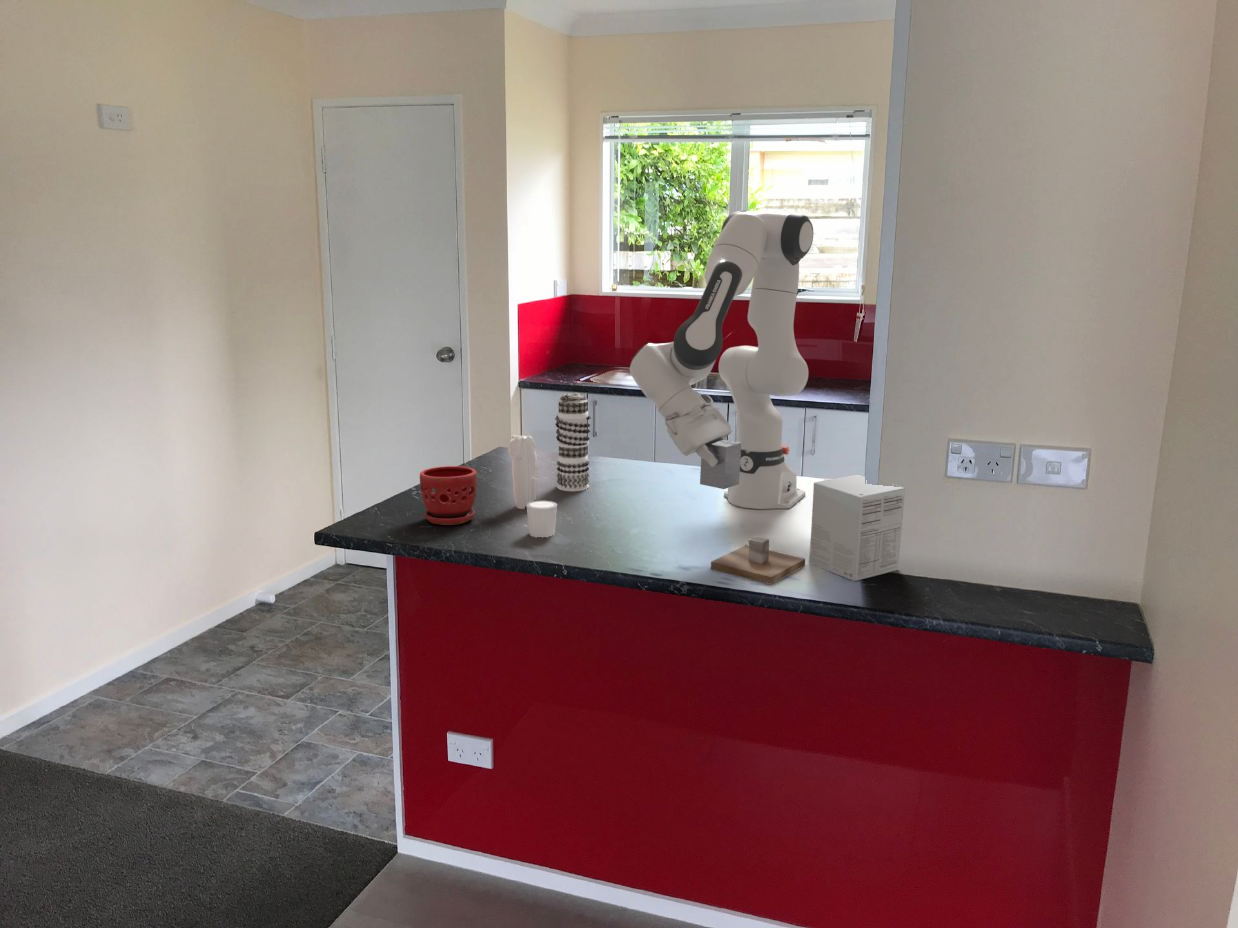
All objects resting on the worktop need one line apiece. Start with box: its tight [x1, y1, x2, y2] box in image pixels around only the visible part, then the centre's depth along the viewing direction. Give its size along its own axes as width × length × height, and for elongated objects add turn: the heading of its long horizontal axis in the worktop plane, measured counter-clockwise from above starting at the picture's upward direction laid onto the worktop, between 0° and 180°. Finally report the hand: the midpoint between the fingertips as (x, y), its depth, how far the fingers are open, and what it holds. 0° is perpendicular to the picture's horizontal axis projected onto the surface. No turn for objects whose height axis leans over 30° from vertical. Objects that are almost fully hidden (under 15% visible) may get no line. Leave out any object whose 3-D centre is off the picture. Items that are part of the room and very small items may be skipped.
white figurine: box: [507, 434, 540, 510], centre depth 238 cm, size 7×18×7 cm
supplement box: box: [808, 474, 906, 582], centre depth 198 cm, size 13×13×18 cm
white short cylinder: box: [526, 500, 558, 539], centre depth 219 cm, size 7×7×7 cm
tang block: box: [710, 535, 806, 585], centre depth 199 cm, size 14×14×6 cm
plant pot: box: [419, 465, 478, 526], centre depth 228 cm, size 13×13×12 cm
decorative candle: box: [554, 392, 592, 492], centre depth 256 cm, size 9×9×25 cm
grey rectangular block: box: [699, 439, 741, 490], centre depth 206 cm, size 6×6×9 cm
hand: (723, 460), depth 205 cm, fingers closed on grey rectangular block, 6 cm apart
